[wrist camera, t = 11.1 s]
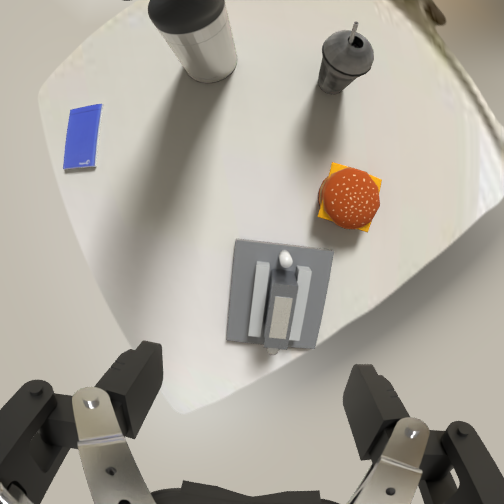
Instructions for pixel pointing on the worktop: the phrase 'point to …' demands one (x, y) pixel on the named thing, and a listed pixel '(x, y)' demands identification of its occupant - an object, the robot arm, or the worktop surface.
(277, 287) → the block
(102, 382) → the robot arm
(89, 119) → the hard drive
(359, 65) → the beverage cup
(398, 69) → the worktop surface
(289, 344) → the dock
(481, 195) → the worktop surface
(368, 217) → the hamburger
